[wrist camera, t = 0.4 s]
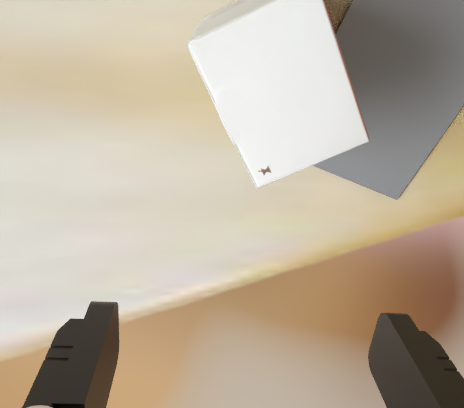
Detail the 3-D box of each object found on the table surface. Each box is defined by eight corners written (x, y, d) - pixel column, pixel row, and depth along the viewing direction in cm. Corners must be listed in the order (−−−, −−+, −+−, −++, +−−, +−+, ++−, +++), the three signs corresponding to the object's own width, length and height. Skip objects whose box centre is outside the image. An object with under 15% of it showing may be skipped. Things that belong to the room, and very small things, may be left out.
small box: (322, 83, 33) (373, 144, 21) (245, 118, 34) (255, 193, 22) (282, -26, 29) (318, -25, 18) (198, 17, 30) (181, 44, 19)
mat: (409, -110, 27) (411, -111, 27) (550, -24, 30) (553, -23, 30) (275, 148, 35) (275, 150, 35) (395, 198, 38) (396, 199, 38)
